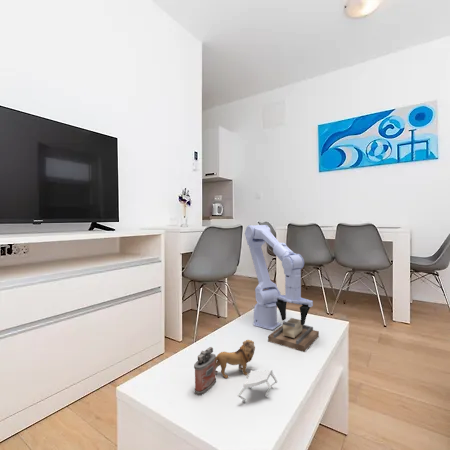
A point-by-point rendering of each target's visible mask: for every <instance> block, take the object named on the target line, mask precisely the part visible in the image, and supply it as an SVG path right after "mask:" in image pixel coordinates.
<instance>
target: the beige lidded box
mask: <svg viewBox="0 0 450 450" xmlns="http://www.w3.org/2000/svg"><path fill="white" fill-rule="evenodd" d="M282 325H283V335H284V336H288V337H292V338H295V337H296V336H297V335H298V334H299V333H301V332H302V325H301V319H299V318H292V317H291V318H289V320H287V321H285V320H284V321H283V320H282Z"/></svg>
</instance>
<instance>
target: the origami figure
mask: <svg viewBox="0 0 450 450" xmlns="http://www.w3.org/2000/svg"><path fill="white" fill-rule="evenodd" d="M270 376H271V377H272V380H273V381H274V382H273V383H271V384H270V382H269V381H268V380H269V379H270ZM265 383H266V385H267V388H268V389H267V391H266V393H265V395H264V396H265V398H269V396H268V393H269V391H270V389H272V390H274V389H275V388H274V387H273V386H274V385H276V384H277V383H278V380H277V378H276V376H275V375H274V372H273V369H267V370H251V369H250V372H249V373H248V374H247V375H246V382H245V383H243V388H242V389H241V391H240V392H239V393H238V394H237V397H238V398H240V399H242V400H241V403H244V402H245V401H247V399H246V398H245V397H244V396H241V395H242V394H243V393H244V391H245V390H246V389H247V388H248V389H252V388H253V387H257V386H260V385H262V384H265Z"/></svg>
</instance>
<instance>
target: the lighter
mask: <svg viewBox="0 0 450 450" xmlns="http://www.w3.org/2000/svg"><path fill="white" fill-rule="evenodd" d="M213 352H214V348H213V347H212V346H209V347H208V348H206V349H205V350H201V351H200V353H199V354H198V355H197V361H196V362H195V363H194V365H193V368H194V394H195V395H196V394H197V395H196V396H202V394H203V395H204V394H206V393H207V392H208V391H210V390H211V389H212V388H213V387H214V386H215V384H216V383H217V378H216V374H215V359H216V356H217V355H216V354H214V353H213Z"/></svg>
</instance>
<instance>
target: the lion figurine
mask: <svg viewBox="0 0 450 450" xmlns="http://www.w3.org/2000/svg"><path fill="white" fill-rule="evenodd" d="M255 350H256V346H255V341H253V340H251V339H246V340H244V341H242V345H241V346H240V347H239V348H238V349H237V350H236V351H233V352H227V351H221V352H219V353H218V354H217V355H216V359H215V375H216V374H218V372H219V371H218V370H217V368H218V367H220V368H221V369H220V373H221V375H222V377H223V378H224V379H228V378H229V375H228V374H226V372H225V370H226V368H227V364H228V365H230V366H238V370H239V371H240V372H241V371H242V374H243V375H244V376H247V375H248V374H249V373H248V371H246V370H247V364H248V363H249V362H251V361H252V360H253V357H254V354H255Z"/></svg>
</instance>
